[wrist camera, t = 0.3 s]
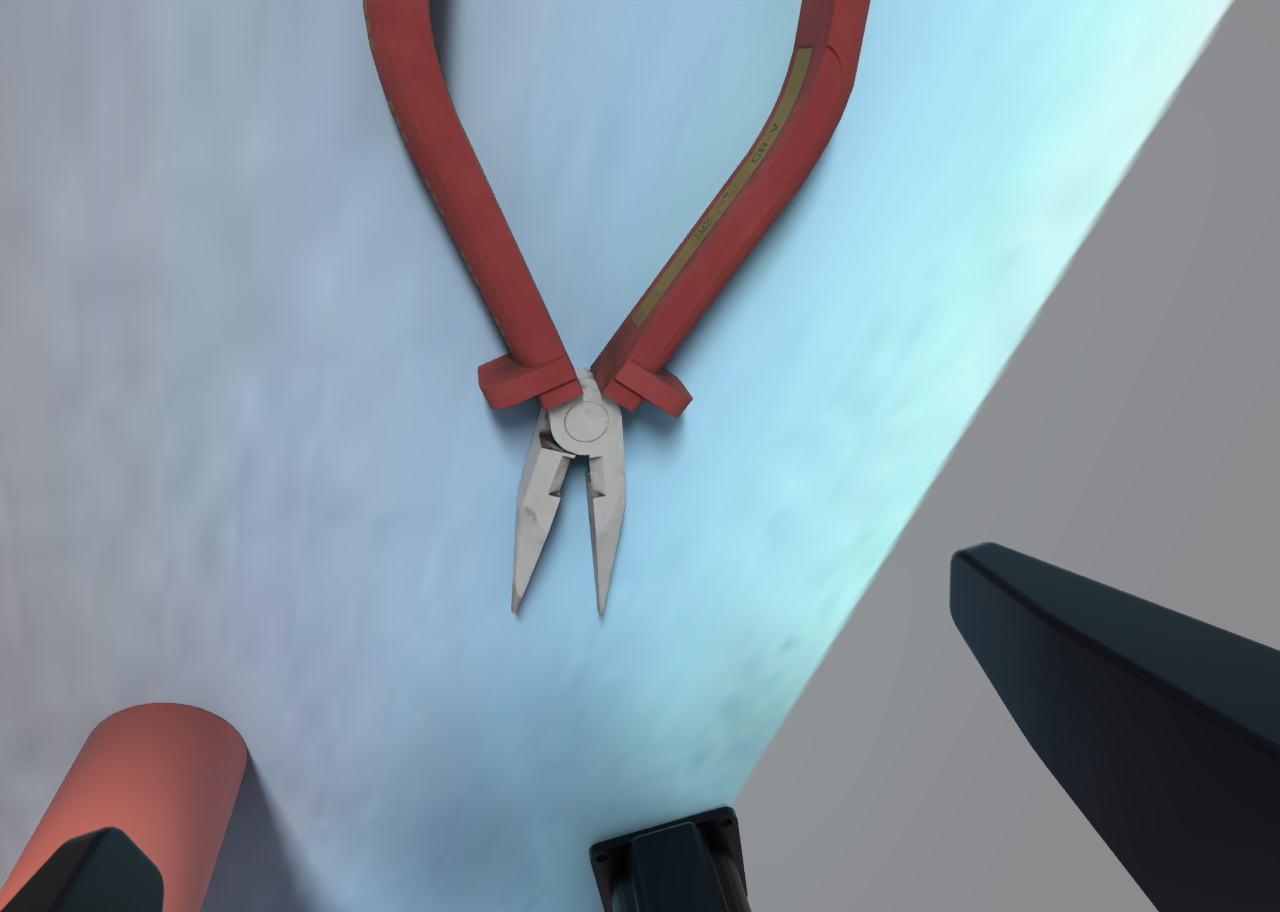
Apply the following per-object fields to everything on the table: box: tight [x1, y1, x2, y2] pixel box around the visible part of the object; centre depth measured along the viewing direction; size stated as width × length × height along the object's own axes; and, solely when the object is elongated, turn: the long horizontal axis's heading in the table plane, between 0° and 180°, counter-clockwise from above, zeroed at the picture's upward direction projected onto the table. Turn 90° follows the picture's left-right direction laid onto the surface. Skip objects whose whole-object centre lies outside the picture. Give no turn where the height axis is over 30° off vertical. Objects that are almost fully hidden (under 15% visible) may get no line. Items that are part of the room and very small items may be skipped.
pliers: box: [363, 0, 870, 615], centre depth 21 cm, size 12×21×3 cm, turn 172°
